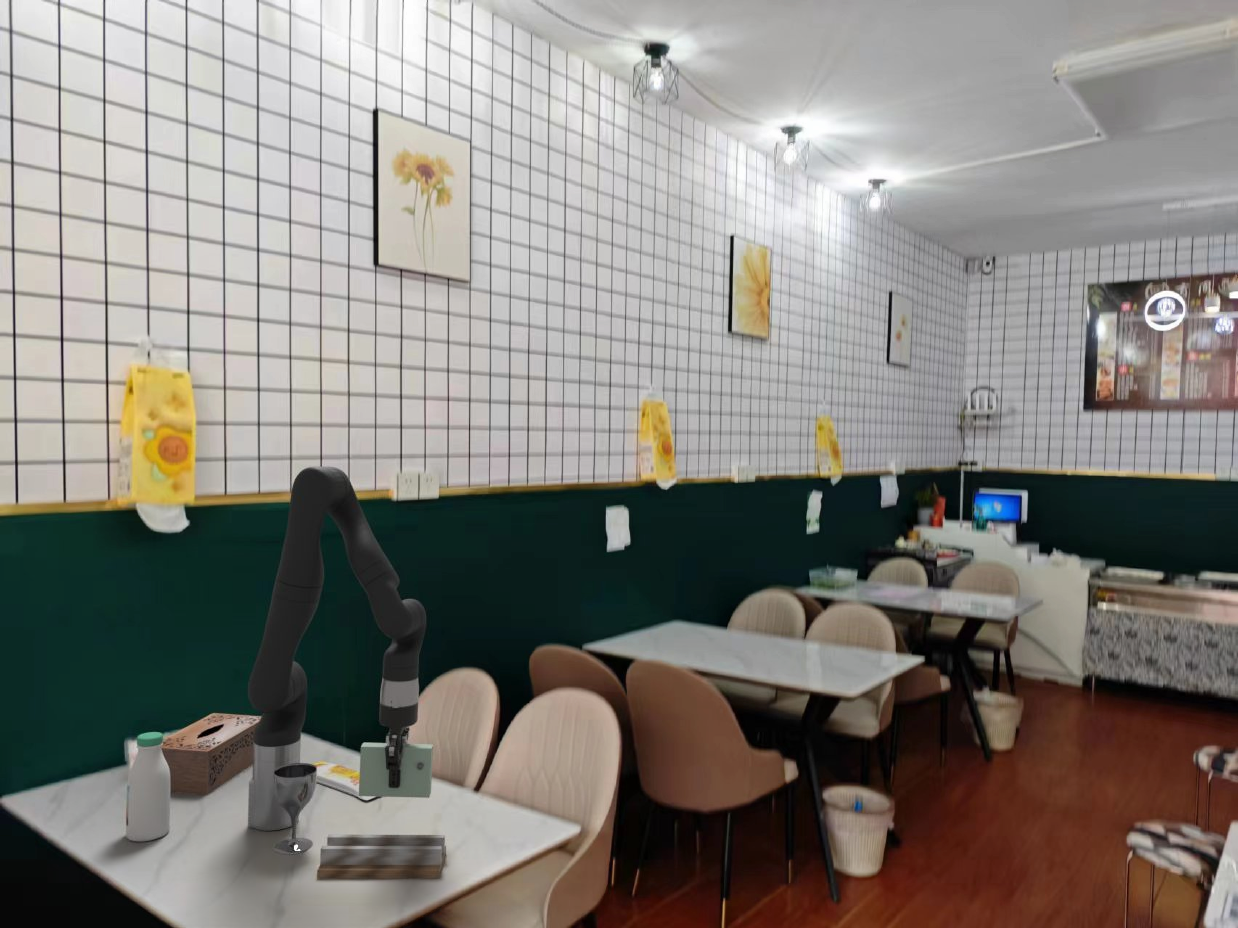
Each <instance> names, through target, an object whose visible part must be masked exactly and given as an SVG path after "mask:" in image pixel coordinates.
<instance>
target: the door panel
mask: <svg viewBox="0 0 1238 928" xmlns="http://www.w3.org/2000/svg"><path fill="white" fill-rule="evenodd" d="M386 746H387V743H386V742H363V743H361V746H360V755H359V757H360V758H359V759H360V760H359V772H360V777H359V796H377V797H381V798H382V797H384V798H385V797H389V798H390V797H391V798H423V799H424V798H425V799H426V798H427V799H428V798H429V799H430V797H431V795H432V777H433V776H432V775H433V755H434V744H431V743H430V744H429V743H425V744H424V743H408V744H405V755H404V757H403V758H402V763H401V765H402V768H401V777H400V786H399V788H389V786H388V784H389V770H387V769H386V756H385V747H386ZM399 753H401V752H399ZM392 763H395V762H392ZM377 797H376V798H377Z"/></svg>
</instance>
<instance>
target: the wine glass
mask: <svg viewBox="0 0 1238 928" xmlns="http://www.w3.org/2000/svg"><path fill="white" fill-rule="evenodd" d="M316 779H317V767H316V766H314V765H313V764H312V763H307V762H306V763H305V762H300V763H294V764H288V765H284V766H281V767H279V768H277V769H276V770H275V771H274V790H275V796H276V799H277V801H278V803H279V804H280V805H281V806H282V807H283V808H284V809H285V810H286V811H287V812H288V814H289V816H290V818H291V825H292V826H291V838H287V839H284V840H280V841H279V842H277V843H276V844H275V846H274V847H273V848H274V852H276V853H278V854H280V855H296V854H301V853H304V852H307V851H308V850H310V849H311V848H312V847H313V844H314V843H313V841H312V839H309V838H307V837H306V838H305V837H297V826H298V825H297V824H298V821H299V819H298V816H300V813H302V811H303V810H304V808H306V806H307V805H308V804H309V803H310V802H311V800H312V799H313V797H314V794H315V790H316V784H317V783H316ZM297 820H298V821H297Z"/></svg>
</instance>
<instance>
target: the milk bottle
mask: <svg viewBox="0 0 1238 928" xmlns="http://www.w3.org/2000/svg"><path fill="white" fill-rule="evenodd" d="M163 739H164V734H163V733H162V732H160V731H159V732H157V731H152V732H151V731H149V732H144V733H141V734H139V735H138V736H137V738H136V748H137V754H136V757H135V758H134V762H133V763H132V766H131V768H130V770H129V772H128V776H127V777H128V778H127V786H126V787H127V788H126V807H125V808H126V811H125V812H126V813H125V814H126V815H125V816H126V817H125V820H126V821H125V823H126V824H125V837H126V838H127V839H128V840H129V841H131V842H148V841H154V840H157V839H159V838H160V839H161V838H162V837H164V836H165V835H167V834H168V833H169V830H170V827H171V826H170V824H171V822H170V821H171V819H170V818H171V792H170V770H169V766H168V764H167V762H166V760H165V758H164V756H163V753H162V749H161V746H162V745H163V743H162V742H163Z"/></svg>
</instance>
